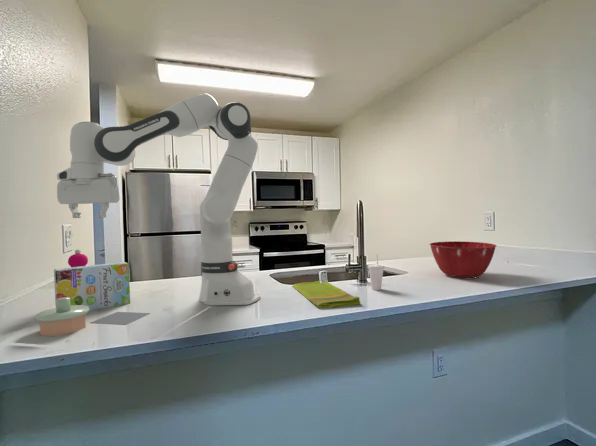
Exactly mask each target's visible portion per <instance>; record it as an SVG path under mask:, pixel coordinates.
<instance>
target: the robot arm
mask: <svg viewBox="0 0 596 446" xmlns="http://www.w3.org/2000/svg"><path fill="white" fill-rule="evenodd" d="M251 121H252V119H251V113H250V111H249V109H248V107H247V106H246V105H244V104H242V103H241V102H237V101H236V102H235V101H232V102H228V103H227V104H225V105H224V106H220V104H218V102H217V101H216V99H215V98H214V97H213V96H212V95H210V94H209V93H199V94H197V95H193V96H190V97H187V98H184V99H182V100H180V101H177V102H175V103H174V104H171V105H170V106H168V107H167V108H165V109H163V110H161V111H159V112H157V113H155V114H152V115H150V116H147V117H146V118H143V119H141V120H138V121H136V122H133V123H131V124H128V125H123V126H121V125H120V126H108V127H103V126H102V125H100V124H99V123H97V122H92V121H82V122H81V121H80V122H77V123H75V124H73V126H72V127H71V129H70V136H69V151H70V154H71V160H70V167H67V168H66V169H64V170H63V171H59V172H58V173H57V174H56V179H57V180H58V182H57V185H56V198H57V202H58V203H59V204H60V205H68V208H69V210H70V212H71V214H72V219H80V218H81V217H82V214H81V212H79V210H78V207H79V205H80V204H81V205H85V204H86V205H87V204H99V206H100V207H101V208H100V210H99V211H97V218H98V219H99V218H102V219H105V218H107V211H108V209H109V207H110V204H116V203H119V201H120V199H121V197H120V192H119V189H120V188H119V185H118V178H117V176H116V175H115V174H113V173H112V172H109V173H108V172H107V173H105V172H104V171H105V167H104V166H105V165H104V164H110V165H113V166H118V167H123V166H127V165H129V164H130V163H132V162H133V160H134V159H135V156H136V148H137V147H139V146H140V145H143V144H145V143H148V142H150V141H151V140H154V139H157V138H159V137H160V136H165V135H167V136H168V135H169V136H173V137H176V138H181V137H186V136H188V135H191V134H193V133H195V132H197V131H200V130H201V129H203V128H207V127H209V129H210V130H211V131H212V132H213V133H215V135H216V136H217V137H218V138H220V139H222V140H225V141H228V144H227V149H226V150H225V152H224V154H223V156H222V158H221V160H220V164H219V165H218V167H217V170H216V172H215V174H214V176H213V179H212V182H211V183H210V186H209V188H208V190H207V192H206V195H205V197H204V198H203V200H202V201H201V203H200V205H199V219H200V221H199V222H200V235H201V236H200V237H201V238H200V239H201V262H200V274H201V275H200V276H201V283H200V284H201V285H200V292H199V297H198V302H202V303H203V305H208V306H209V305H211V306H247V305H251V304H254V303H255V302H257V301H258V300H260V298H261V294H260V293H257V292H255V288H254V283H253V282H252V280H251V279H250V278H249V277H247V276H246V275H244V274H243V273H241V271H239V270H238V267H239V264H240V262H236V261H234V258H233V257H234V256H233V238H232V231H231V230H232V229H231V220H230V219H231V218H232V216H233V214H234V212H235V209H236V207H237V205H238V201H239V199H240V196H241V193H242V190H243V187H244V186H245V183H246V180H247V178H248V176H249V174H250V171H251V170H252V167H253V165H254V162H255V160H256V156H257V153H258V142H257V141H256V139H255V138H254V137H253V136H251V135H250V134H251V132H252V125H251V123H252V122H251Z"/></svg>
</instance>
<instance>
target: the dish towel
mask: <svg viewBox="0 0 596 446" xmlns="http://www.w3.org/2000/svg"><path fill="white" fill-rule="evenodd" d="M320 281H321V280H317V281H307V282H306V281H305V282H298V283H294V284H292V288H294V290H295V291H298V292H299V294H300V295H302V296H303V297H304V298H305V299H306V300H308V301H309V302H310V303H311V304H313V305H314V306H315V307H316V306H317V308H318V309H319V308H322V309H329V308H330V307H333V308H342V307H350V306H351V307H352V306H360V305H361V301H360V297H359V296H353V295H351V294H350V293H348V292H347V291H345V290H342V289H341V288H339V287H337V286H335V285H333V284H332V283H330V282H328V281H327V280H326V282H325V283H320ZM330 309H331V308H330Z"/></svg>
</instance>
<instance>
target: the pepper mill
mask: <svg viewBox="0 0 596 446" xmlns="http://www.w3.org/2000/svg"><path fill="white" fill-rule="evenodd" d="M88 262H89V258H88V256H87V255H86V254H84V253H81V249H78V248H77V249H75V251H74V254H71V255H70V256H69V257H68V259H67V264H68V265H69V267H70V268H71V267H80V266H87V264H88Z"/></svg>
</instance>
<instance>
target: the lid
mask: <svg viewBox="0 0 596 446" xmlns="http://www.w3.org/2000/svg"><path fill="white" fill-rule="evenodd" d="M89 313H90V310H89V307H88V306H85V305H72V306H70V297H63V298H58V299H56V305H55V307H52V308H49V309H45V310H42V311H40V312H38V313H36V314H35V321H36V322H39V323H40V322H53V321H61V320H67V319H72V318H76V317H80V316H82V315H85V316H86V315H87V314H89Z"/></svg>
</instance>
